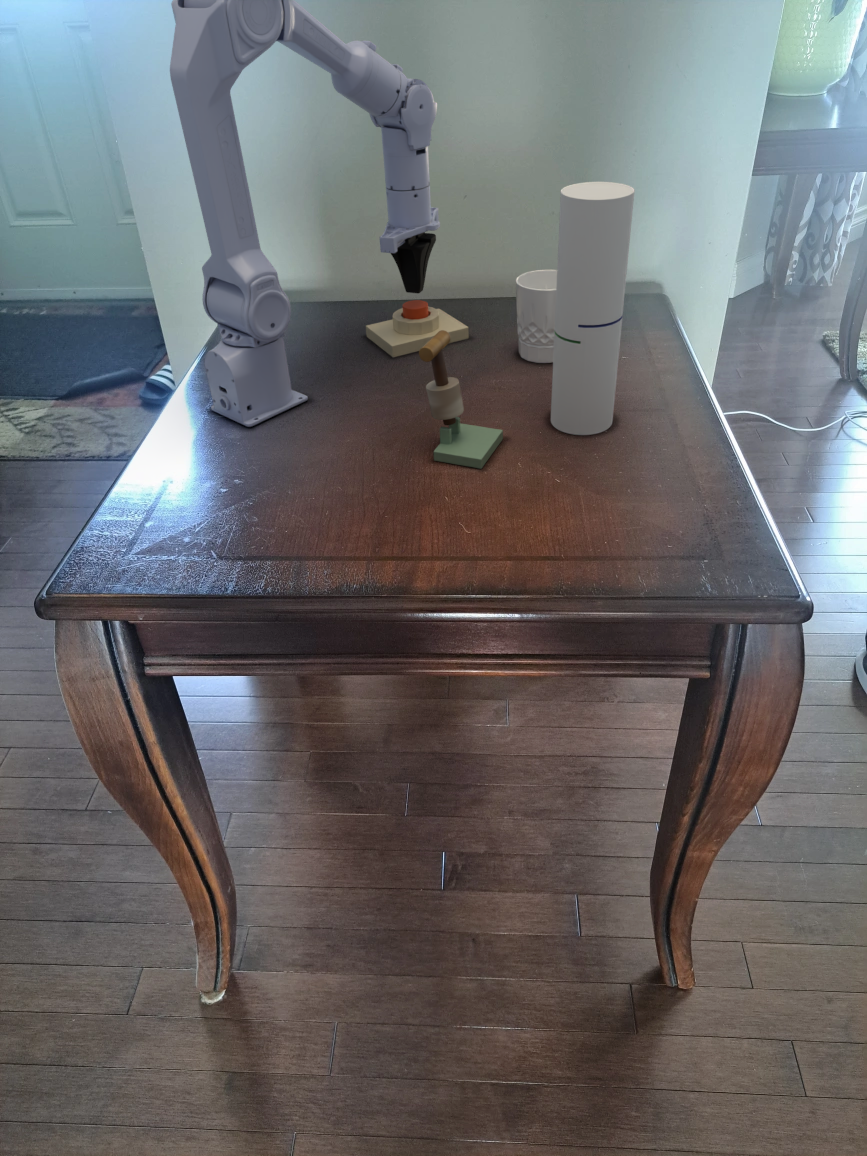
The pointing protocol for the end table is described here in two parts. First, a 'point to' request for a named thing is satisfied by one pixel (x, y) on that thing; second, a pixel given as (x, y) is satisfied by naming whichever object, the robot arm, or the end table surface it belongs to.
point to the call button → (415, 309)
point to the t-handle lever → (441, 382)
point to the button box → (414, 331)
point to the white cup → (536, 314)
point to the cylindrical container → (589, 304)
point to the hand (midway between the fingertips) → (414, 291)
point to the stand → (467, 444)
